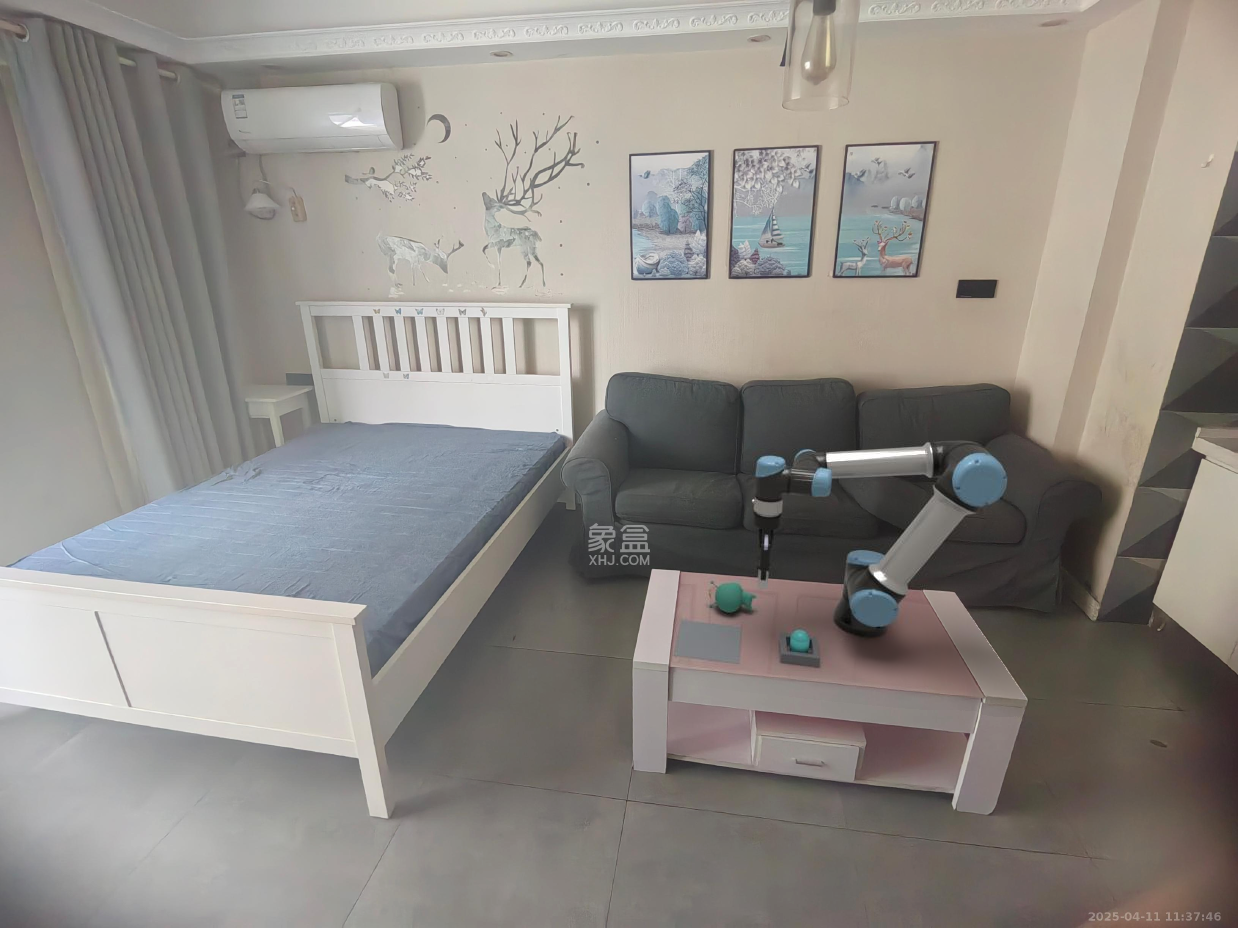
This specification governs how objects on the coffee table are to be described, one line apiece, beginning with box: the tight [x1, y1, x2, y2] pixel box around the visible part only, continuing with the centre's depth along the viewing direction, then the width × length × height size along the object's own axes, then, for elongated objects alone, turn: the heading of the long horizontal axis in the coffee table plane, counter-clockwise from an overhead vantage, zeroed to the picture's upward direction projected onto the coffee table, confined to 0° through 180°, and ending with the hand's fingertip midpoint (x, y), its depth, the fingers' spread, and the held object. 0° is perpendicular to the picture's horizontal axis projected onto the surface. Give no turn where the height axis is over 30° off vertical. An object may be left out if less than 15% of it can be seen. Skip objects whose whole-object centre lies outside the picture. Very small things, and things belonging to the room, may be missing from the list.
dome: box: [789, 629, 810, 654], centre depth 170 cm, size 5×5×7 cm
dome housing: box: [779, 632, 821, 668], centre depth 170 cm, size 10×10×3 cm
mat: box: [673, 619, 742, 665], centre depth 177 cm, size 18×18×1 cm
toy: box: [707, 580, 757, 614], centre depth 192 cm, size 10×10×15 cm
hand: (762, 587), depth 176 cm, fingers closed
